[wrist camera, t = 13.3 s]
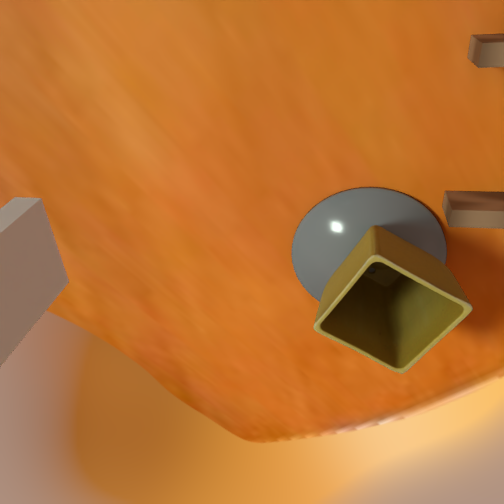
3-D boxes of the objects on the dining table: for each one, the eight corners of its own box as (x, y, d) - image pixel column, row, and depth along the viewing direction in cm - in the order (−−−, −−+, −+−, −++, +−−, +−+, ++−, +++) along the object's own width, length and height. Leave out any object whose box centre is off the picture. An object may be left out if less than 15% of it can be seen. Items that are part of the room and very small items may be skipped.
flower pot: (455, 245, 41) (477, 309, 34) (394, 308, 46) (402, 377, 39) (370, 197, 40) (373, 253, 33) (317, 267, 45) (310, 329, 38)
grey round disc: (293, 308, 49) (292, 310, 49) (290, 185, 42) (290, 187, 41) (434, 318, 46) (434, 320, 46) (458, 188, 39) (458, 190, 39)
